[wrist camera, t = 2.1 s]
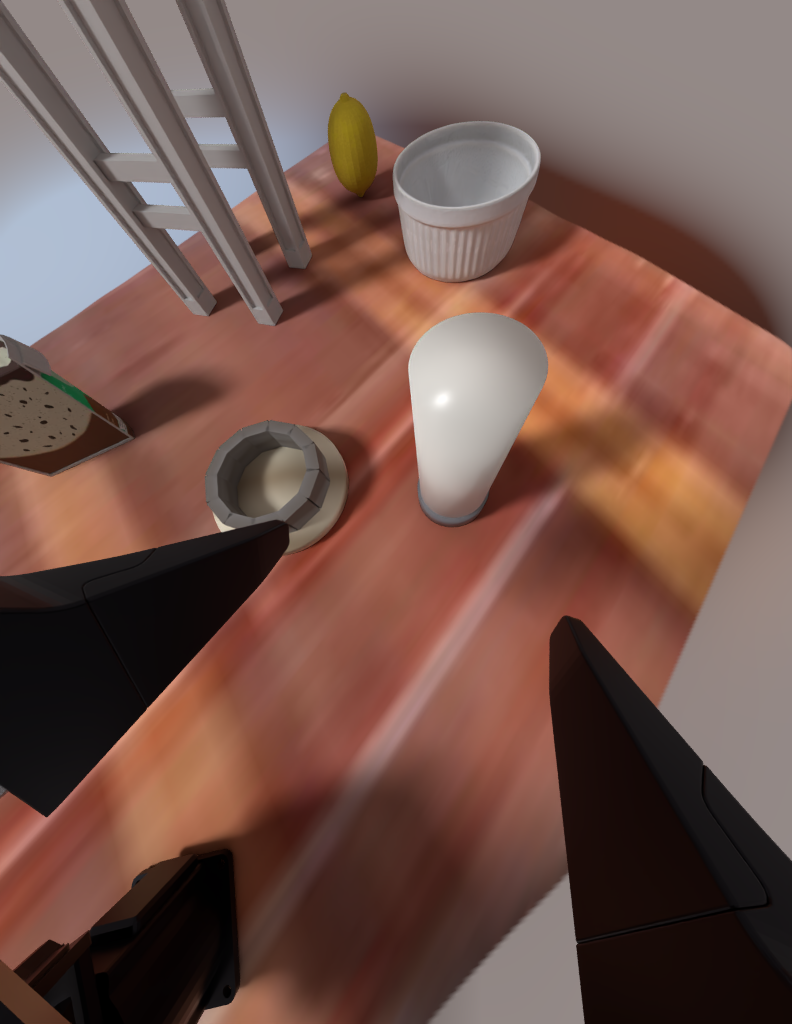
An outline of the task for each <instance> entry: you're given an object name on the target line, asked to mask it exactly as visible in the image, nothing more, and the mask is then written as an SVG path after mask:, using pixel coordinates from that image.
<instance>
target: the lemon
mask: <svg viewBox="0 0 792 1024" xmlns="http://www.w3.org/2000/svg"><path fill="white" fill-rule="evenodd" d="M328 142H329V150H330V156H331V160H332V164H333V167H334V170H335V173H336V175H337V177H338V179H339V181H340V182H341V183H342V185H343V186H344V187H345V188H346V189H347V190H349V191H351V192H353V193H356V194H357V195H358V196H359V197H362V196H363V195H364V193H365V191H366V190H367V189H368V188H369V187H370V186H371V184H372V182H373V181H374V178H375V175H376V171H377V162H378V156H377V145H376V138H375V133H374V129H373V126H372V122H371V119H370V117H369V115H368V113H367V111H366V109H365V108H364V107H363V105H362V104H361V103H360V102H359V101H357V100H356V99H354V98H352V97H349V95H348V94H347V93H342V94H341V96H340V99H339V100H338V101H337V103H336V104H335V105H334V107H333V109H332V111H331V114H330V117H329V123H328Z"/></svg>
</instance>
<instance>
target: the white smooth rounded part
mask: <svg viewBox="0 0 792 1024" xmlns="http://www.w3.org/2000/svg"><path fill="white" fill-rule="evenodd" d="M408 371H409V381H410V391H411V401H412V411H413V421H414V431H415V441H416V451H417V461H418V471H419V480H418V497H419V503H420V506H421V509H422V511H423V512H424V514H425V515H426V516H427V517H428V518H429V519H430V520H431V521H433V522H434V523H436V524H438V525H441V526H445V527H459V526H463V525H466V524H468V523H470V522H471V521H473V520H474V519H475V518H476V517H477V516H478V515H479V513H480V512H481V510H482V508H483V506H484V505H485V503H486V501H487V498H488V495H489V489H490V487H491V485H492V483H493V481H494V480H495V478H496V476H497V474H498V472H499V470H500V468H501V466H502V464H503V462H504V460H505V458H506V457H507V455H508V453H509V451H510V449H511V447H512V445H513V443H514V441H515V439H516V437H517V435H518V433H519V432H520V430H521V428H522V426H523V424H524V422H525V420H526V418H527V416H528V414H529V412H530V410H531V409H532V407H533V405H534V403H535V401H536V399H537V397H538V395H539V393H540V391H541V389H542V387H543V385H544V383H545V380H546V377H547V373H548V359H547V354H546V351H545V349H544V346H543V344H542V343H541V341H540V340H539V338H538V337H537V336H536V335H535V334H534V333H533V331H531V330H530V329H529V328H528V327H527V326H525V325H523V324H522V323H520V322H518V321H516V320H514V319H512V318H509V317H506V316H503V315H499V314H493V313H468V314H462V315H458V316H454V317H451V318H449V319H446V320H444V321H442V322H440V323H438V324H437V325H435V326H433V327H432V328H431V329H429V330H428V331H427V332H426V333H425V334H424V335H423V336H422V337H421V338H420V339H419V341H418V342H417V343H416V345H415V347H414V349H413V351H412V353H411V356H410V360H409V368H408Z"/></svg>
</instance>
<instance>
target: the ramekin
mask: <svg viewBox="0 0 792 1024" xmlns="http://www.w3.org/2000/svg"><path fill="white" fill-rule="evenodd" d="M540 162H541V153H540V149H539V148H538V145H537V144H536V142H535V141H534V140H533V139H532V138H531V136H529V135H528V134H527V133H525V132H524V131H522V130H520V129H518V128H516V127H513V126H510V125H507V124H503V123H498V122H490V121H471V122H463V123H456V124H451V125H448V126H444V127H441V128H438V129H436V130H433V131H431V132H428V133H426V134H424V135H422V136H421V137H419V138H418V139H416V140H415V141H413V142H412V143H410V144H409V145H408V146H407V147H406V148H405V149H404V150H403V151H402V153H401V154H400V155H399V156H398V158H397V160H396V162H395V165H394V168H393V187H394V195H395V199H396V201H397V203H398V208H399V214H400V220H401V227H402V233H403V239H404V244H405V248H406V252H407V255H408V257H409V259H410V261H411V262H412V263H413V265H414V266H415V267H416V268H417V269H418V270H419V271H420V272H421V273H422V274H424V275H425V276H427V277H429V278H432V279H434V280H438V281H443V282H462V281H468V280H472V279H475V278H478V277H480V276H482V275H484V274H486V273H488V272H489V271H491V270H492V269H493V268H494V267H495V266H496V265H497V264H498V263H500V262H501V261H502V259H503V258H504V257H505V256H506V254H507V253H508V251H509V250H510V248H511V246H512V243H513V241H514V238H515V236H516V233H517V230H518V228H519V225H520V222H521V219H522V216H523V213H524V210H525V207H526V204H527V201H528V197H529V195H530V194H531V192H532V190H533V188H534V186H535V184H536V181H537V176H538V172H539V168H540Z"/></svg>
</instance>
